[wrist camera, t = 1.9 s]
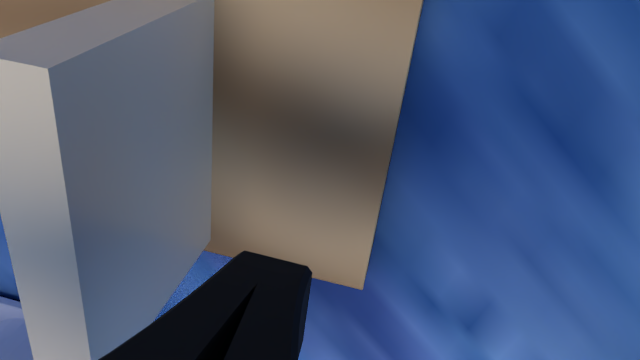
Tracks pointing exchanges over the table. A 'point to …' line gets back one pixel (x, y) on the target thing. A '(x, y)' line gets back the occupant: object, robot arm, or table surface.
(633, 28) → the table surface
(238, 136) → the cork board
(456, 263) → the table surface
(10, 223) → the tile
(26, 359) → the robot arm
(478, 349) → the table surface
